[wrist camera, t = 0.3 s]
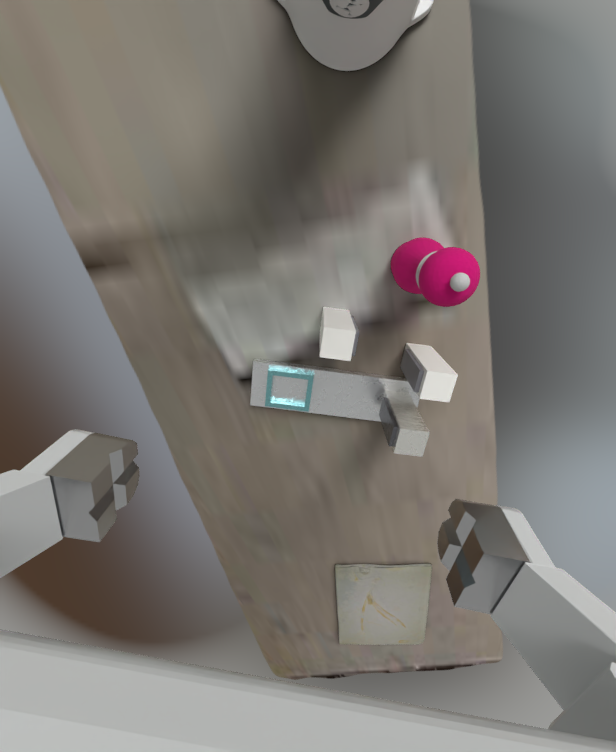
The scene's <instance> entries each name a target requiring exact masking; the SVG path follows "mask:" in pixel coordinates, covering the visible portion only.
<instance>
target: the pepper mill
mask: <svg viewBox="0 0 616 752" xmlns="http://www.w3.org/2000/svg"><path fill="white" fill-rule="evenodd" d="M391 271H392V274H393V276H394V279H395V281H396V283H397V284H398V285H399V286H400V287H401V288H402V289H403V290H405V291H407V292H410V293H414V294H423V296H424V297H425V298H426V299H427V300H428V301H429V302H431V303H433V304H435V305H438V306H443V307H449V306H455V305H458V304H460V303H462V302H464V301H466V300H467V299H468V298H469V297H470V296H471V295H472V294H473V293H474V292H475V290H476V288H477V286H478V283H479V279H480V268H479V265H478V262H477V261H476V259H475V258H474V256H473V255H472V254H470V253H469V252H467V251H466V250H464V249H461V248H456V247H448V248H444V247H443V246H442V245H441V244H440V243H438V242H436V241H435V240H432V239H429V238H416V239H413V240H411V241H409V242H406V243H404V244H402V245H401V246H400V247H398V249H397V250H396V251H395V253H394V254H393V256H392V260H391Z"/></svg>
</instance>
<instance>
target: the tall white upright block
mask: <svg viewBox="0 0 616 752" xmlns="http://www.w3.org/2000/svg"><path fill="white" fill-rule="evenodd" d="M358 337H359V330H358V327H357V325H356V322H355V319H354V317H353V316H351V315H350V312H349V310H345V309H338V308H330V307H323V312H322V319H321V326H320V357H322V358H330V359H338V360H346V361H351V356H355V353H356V348H357V343H358Z"/></svg>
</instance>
